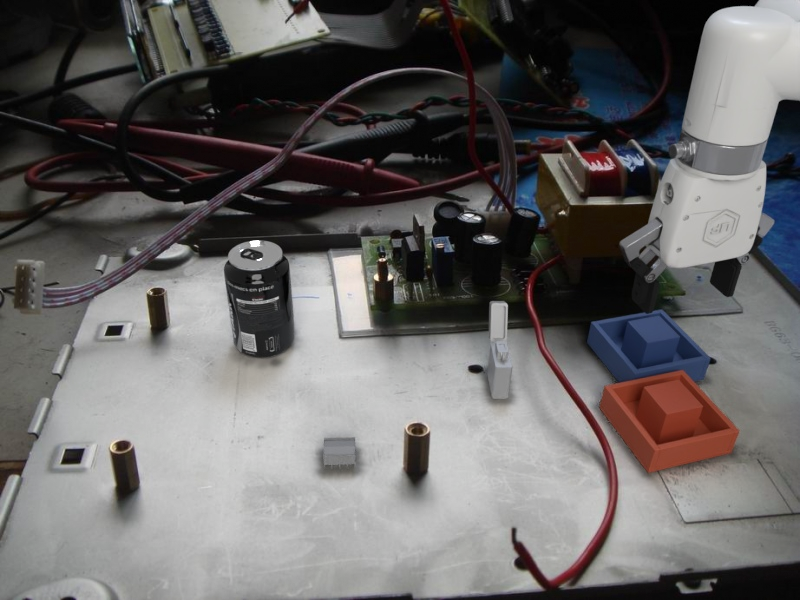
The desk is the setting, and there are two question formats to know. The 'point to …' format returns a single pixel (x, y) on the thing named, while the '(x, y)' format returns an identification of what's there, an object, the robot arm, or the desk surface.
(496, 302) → the lighter
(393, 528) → the desk surface
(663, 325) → the slate block
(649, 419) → the terracotta block
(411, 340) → the desk surface
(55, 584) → the desk surface
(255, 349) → the beverage can
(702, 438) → the terracotta bin
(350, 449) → the grey pin connector
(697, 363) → the slate bin
